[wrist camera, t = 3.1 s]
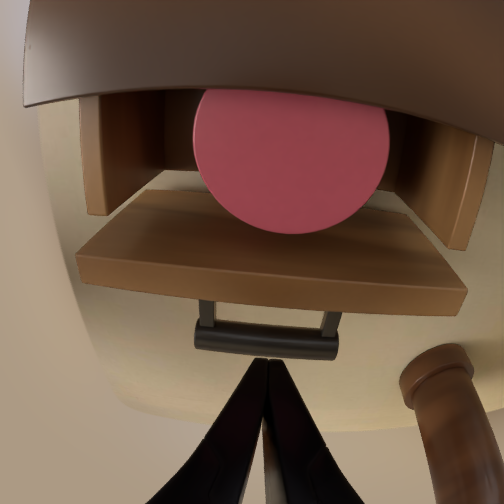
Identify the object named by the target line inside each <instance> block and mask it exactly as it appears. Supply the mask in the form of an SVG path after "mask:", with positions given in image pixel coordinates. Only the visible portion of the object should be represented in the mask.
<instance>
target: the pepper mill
mask: <svg viewBox="0 0 504 504" xmlns="http://www.w3.org/2000/svg"><path fill="white" fill-rule="evenodd" d="M473 374H474V368H473V365H472V363H471V361H470V359H469V357H468V355H467V353H466V351H465V350H464V348H462V347H461V346H459V345H456V344H445V345H441V346H437V347H434V348H432V349H430V350H428V351H426V352H424V353H422V354H421V355H419V356H418V357H416V358H415V359H414V360H413V361H412V362H410V363H409V364H408V366H407V367H406V368H405V369H404V371H403V372H402V374H401V376H400V380H399V385H400V389H401V392H402V396H403V399H404V403H405V405H406V406H407V407H408V408H410V409H412V410H414V411H415V414H416V418H417V422H418V425H419V429H420V433H421V437H422V441H423V444H424V448H425V452H426V457H427V461H428V465H429V470H430V474H431V479H432V484H433V489H434V494H435V499H436V504H504V463H503V459H502V456H501V453H500V450H499V447H498V445H497V442H496V439H495V436H494V433H493V431H492V428H491V426H490V423H489V420H488V418H487V415H486V413H485V410H484V408H483V405H482V403H481V401H480V398H479V396H478V394H477V391H476V389H475V387H474V385H473V382H472V377H473Z"/></svg>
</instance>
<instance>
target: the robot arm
mask: <svg viewBox="0 0 504 504" xmlns="http://www.w3.org/2000/svg"><path fill="white" fill-rule="evenodd" d="M261 423H262V435H263V453H264V454H263V455H264V473H265V494H266V504H364V502H363V501H362V500H361V498H360V497H359V496H358V494H357V493H356V492H355V490H354V489H353V488H352V486H351V485H350V484H349V482H348V481H347V479H346V478H345V476H344V475H343V473H342V472H341V470H340V469H339V467H338V465H337V464H336V462H335V460H334V458H333V457H332V455H331V453H330V451H329V449H328V447H326V443H325V442H324V440H323V438H322V436H321V434H320V432H319V430H318V428H317V426H316V424H315V422H314V420H313V418H312V417H311V415H310V413H309V411H308V409H307V407H306V405H305V403H304V401H303V399H302V397H301V395H300V393H299V391H298V389H297V387H296V385H295V383H294V381H293V379H292V377H291V375H290V374H289V372H288V370H287V368H286V366H285V364H284V362H283V360H281V359H269V361H268V359H267V358H255V359H254V360H253V362H252V363H251V365H250V366H249V368H248V370H247V371H246V373H245V375H244V376H243V378H242V379H241V381H240V383H239V384H238V386H237V387H236V389H235V391H234V392H233V394H232V395H231V397H230V398H229V400H228V402H227V403H226V405H225V406H224V408H223V409H222V411H221V412H220V414H219V415H218V417H217V419H216V420H215V422H214V423H213V425H212V426H211V428H210V429H209V431H208V432H207V434H206V435H205V437H204V439H202V441H201V443H200V444H199V446H198V447H197V448H196V450H195V451H194V452H193V454H192V455H191V456H190V458H189V459H188V460H187V461H186V463H185V464H184V465H183V466H182V467H181V468H180V470H179V471H178V472H177V473H176V474H175V475H174V476H173V477H172V478H171V479H170V480H169V481H168V482H167V483H166V484H165V485H164V486H163V487H162V488H161V489H160V490H159V491H158V492H157V493H156V494H155V495H154V496H153V497H152V498H151V499H150V500H149V501H148V502H147V503H145V504H242V500H243V497H244V493H245V489H246V485H247V481H248V478H249V473H250V470H251V465H252V462H253V458H254V454H255V449H256V446H257V441H258V437H259V433H260V428H261Z"/></svg>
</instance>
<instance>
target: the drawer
mask: <svg viewBox="0 0 504 504" xmlns="http://www.w3.org/2000/svg"><path fill="white" fill-rule="evenodd" d="M205 91H206V89H174V90H152V91H137V92H125V93H114V94H105V95H97V96H89V97H82V98H79V119H80V141H81V156H82V168H83V179H84V188H85V196H86V204H87V211H88V214H89V215H97V216H108V215H110V214H111V213H112V212H113V211H114V210H115V209H117V208H118V207H119V206H120V205H121V204H123V203H124V202H125V201H126V200H127V199H129V198H130V197H131V196H132V195H133V194H135V193H136V192H137V191H138V190H140V189H141V188H142V187H143V186H145V185H146V184H147V183H148V182H150V181H151V180H152V179H154V178H155V177H156V176H157V175H159V174H160V173H161V172H163V171H164V170H179V171H199V170H198V167H197V164H196V160H195V156H194V149H193V126H194V119H195V115H196V112H197V108H198V105H199V103H200V101H201V99H202V96H203V94H204V93H205ZM385 112H386V116H387V120H388V124H389V132H390V151H389V157H388V162H387V165H386V169H385V172H384V175H383V177H382V179H381V181H380V183H379V185H378V187H377V188H376V189H377V190H383V191H390V192H395V194H396V195H397V196H398V197H399V198H400V199H401V200H402V201H403V202H404V203H405V204H406V205H407V206H408V207H409V208H410V209H411V210H412V211H413V212H414V213H415V214H416V215H417V216H418V217H419V218H420V219H421V220H422V221H423V222H424V223H425V224H426V225H427V226H428V227H429V228H430V229H431V231H432V232H433V233H434V234H435V235H436V236H437V237H438V238H439V239H440V240H441V242H442V243H443V244H444V245H445V246H446V247H447V248H448V249H453V250H461V251H465V250H466V248H467V245H468V242H469V239H470V236H471V233H472V230H473V227H474V224H475V221H476V217H477V214H478V211H479V207H480V204H481V200H482V196H483V193H484V189H485V185H486V181H487V177H488V172H489V168H490V163H491V159H492V154H493V148H494V143H495V142H493V141H491V140H488V139H486V138H483V137H480V136H477V135H475V134H472V133H469V132H466V131H463V130H460V129H457V128H454V127H450V126H447V125H444V124H441V123H437V122H434V121H430V120H427V119H423V118H419V117H416V116H412V115H408V114H404V113H400V112H396V111H391V110H387V109H385ZM75 257H76V261H77V266H78V270H79V274H80V278H81V281H82V283H86V284H92V285H99V286H105V287H111V288H118V289H124V290H131V291H138V292H145V293H152V294H160V295H167V296H175V297H183V298H191V299H199V315H200V317H199V318H198V320H197V322H196V326H195V333H194V345H195V348H196V349H201V350H209V351H217V352H225V353H234V354H243V355H253V356H264V357H276V358H290V359H306V360H328V361H333V360H335V358H336V356H337V353H338V347H339V336H338V331H337V328H338V325H339V322H340V319H341V315H342V312H347V313H366V314H388V315H417V316H456V315H457V314H458V312H459V310H460V308H461V306H462V303H463V301H464V299H465V297H466V295H467V293H468V289H467V287H466V286H465V285H464V283H463V282H462V281H461V279H460V278H459V277H458V275H457V274H456V273H455V272H454V270H453V269H452V268H451V266H450V265H449V264H448V263H447V261H446V260H445V259H444V258H443V256H442V255H441V254H440V253H439V251H438V250H437V249H436V248H435V247H434V245H433V244H432V243H431V242H430V241H429V240H428V238H427V237H426V236H425V235H424V234H423V233H422V231H421V230H420V229H419V228H418V227H417V226H416V225H415V223H414V222H413V221H412V220H411V219H410V218H409V217H408V216H407V215H406V214H401V213H394V212H387V211H380V210H373V209H365V208H360V209H359V210H358V211H357V212H355V213H354V214H353V215H351V216H350V217H349V218H347V219H345V220H344V221H342V222H340V223H338V224H336V225H334V226H331V227H329V228H327V229H323V230H320V231H316V232H311V233H304V234H283V233H275V232H270V231H266V230H263V229H260V228H257V227H254V226H252V225H250V224H248V223H246V222H244V221H242V220H240V219H239V218H237V217H236V216H234V215H233V214H231V213H230V212H229V211H228V210H226V209H225V208H224V207H223V206H222V205H221V204H220V203H219V202H218V201H217V200H216V199H215V197H214V196H213V195H212V193H203V192H187V191H168V190H145V191H144V192H142V193H141V194H140V195H139V196H138V197H137V198H135V199H134V200H133V201H132V202H131V203H130V204H128V205H127V206H126V207H125V208H124V209H123V210H122V211H120V212H119V213H118V214H117V215H116V216H115V217H114V218H113V219H112V220H110V221H109V222H108V223H107V224H106V225H105V226H104V227H103V228H102V229H101V230H100V231H99V232H97V233H96V234H95V235H94V236H93V237H92V238H91V239H90V240H89V241H88V242H87V243H86V244H85V245H84V246H83V247H82V248H81V249H80V250H79V251H78V252H77V253H76V254H75ZM216 301H217V302H226V303H236V304H246V305H256V306H267V307H278V308H290V309H303V310H316V311H325V312H324V316H323V319H322V323H321V327H320V328H307V327H293V326H280V325H268V324H257V323H247V322H237V321H228V320H219V319H216Z"/></svg>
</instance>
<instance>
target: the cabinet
mask: <svg viewBox="0 0 504 504" xmlns="http://www.w3.org/2000/svg"><path fill="white" fill-rule="evenodd" d="M174 89H226V90H249V91H264V92H277V93H287V94H297V95H305V96H313V97H320V98H327V99H334V100H340V101H346V102H352V103H357V104H363V105H368V106H373V107H378V108H382V109H387V110H391V111H396V112H400V113H404V114H408V115H412V116H416V117H419V118H423V119H427V120H430V121H434V122H437V123H441V124H444V125H447V126H450V127H454V128H457V129H460V130H463V131H466V132H469V133H472V134H475V135H477V136H480V137H483V138H486V139H488V140H491V141H493V142H495V143H498V144H500V145H503V146H504V0H30V5H29V11H28V19H27V27H26V37H25V49H24V66H23V106H24V107H25V108H28V107H33V106H37V105H42V104H48V103H53V102H59V101H65V100H72V99H79V98H82V97H89V96H97V95H105V94H114V93H125V92H137V91H152V90H174Z"/></svg>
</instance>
